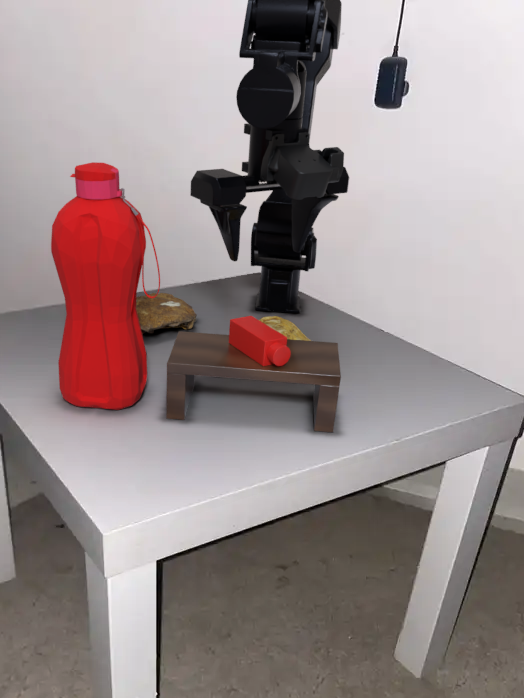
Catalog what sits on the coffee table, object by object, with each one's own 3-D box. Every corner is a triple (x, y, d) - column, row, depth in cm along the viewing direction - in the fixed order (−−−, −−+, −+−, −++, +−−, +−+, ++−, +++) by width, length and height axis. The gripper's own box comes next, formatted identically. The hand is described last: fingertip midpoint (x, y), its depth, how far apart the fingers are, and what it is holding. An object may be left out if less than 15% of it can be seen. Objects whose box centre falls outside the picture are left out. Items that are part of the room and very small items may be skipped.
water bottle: (151, 418, 84) (151, 177, 71) (53, 409, 85) (36, 170, 72) (165, 382, 92) (168, 159, 79) (76, 374, 93) (64, 153, 80)
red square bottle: (228, 343, 85) (229, 319, 84) (249, 339, 87) (251, 315, 85) (269, 371, 79) (271, 345, 78) (291, 366, 81) (294, 341, 79)
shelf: (177, 383, 92) (178, 331, 88) (330, 395, 90) (337, 342, 86) (166, 418, 84) (166, 362, 81) (333, 432, 82) (341, 376, 79)
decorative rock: (125, 357, 99) (210, 334, 107) (126, 327, 96) (213, 306, 105) (74, 326, 105) (158, 307, 114) (74, 298, 103) (160, 280, 112)
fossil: (285, 328, 91) (223, 307, 97) (274, 377, 93) (214, 353, 99) (337, 329, 99) (277, 309, 105) (326, 373, 101) (267, 351, 107)
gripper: (244, 131, 76) (235, 285, 84) (389, 122, 84) (368, 265, 92) (189, 116, 84) (186, 258, 92) (327, 109, 92) (312, 241, 100)
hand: (265, 256), depth 94 cm, fingers open, 9 cm apart
